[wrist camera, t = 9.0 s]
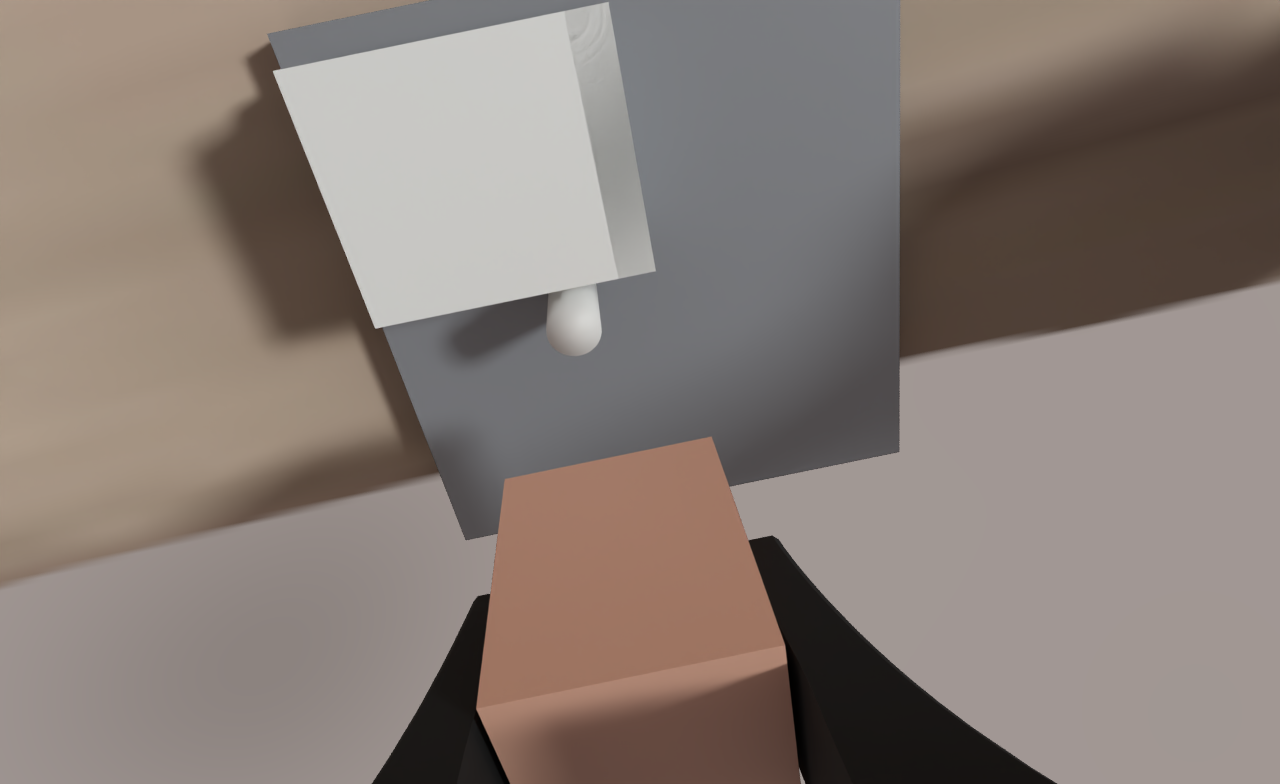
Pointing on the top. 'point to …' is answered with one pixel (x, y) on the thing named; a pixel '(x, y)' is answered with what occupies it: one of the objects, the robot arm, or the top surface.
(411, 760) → the robot arm
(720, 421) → the deck
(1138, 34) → the top surface
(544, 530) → the block
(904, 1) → the top surface
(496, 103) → the cover
